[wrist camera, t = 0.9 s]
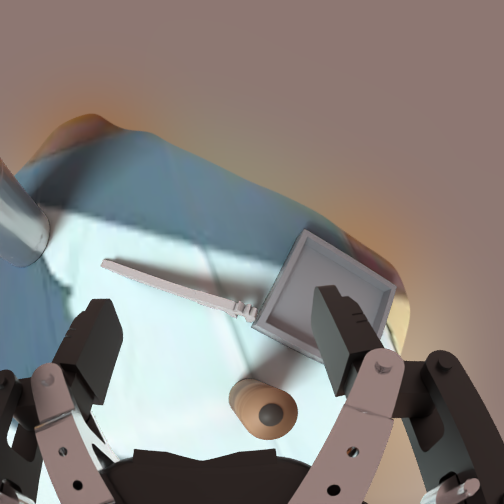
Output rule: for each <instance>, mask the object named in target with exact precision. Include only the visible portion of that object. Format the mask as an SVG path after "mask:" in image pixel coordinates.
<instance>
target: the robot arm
mask: <svg viewBox="0 0 504 504" xmlns="http://www.w3.org/2000/svg"><path fill="white" fill-rule="evenodd" d="M49 232H50V227H49V221H48V219H47V217H46V215H45V214H44V213H43V211H42V210H41V209H40V208H39V207H38V206H37V204H36V203H35V202H34V201H33V199H32V198H31V197H30V196H29V195H28V193H27V192H26V191H25V190H24V188H23V187H22V186H21V185H20V183H19V182H18V181H17V179H16V178H15V177H14V175H13V174H12V173H11V171H10V170H9V169H8V168H7V166H6V165H5V163H4V162H3V161H2V159H1V158H0V257H1V258H2V259H4V260H5V261H7V262H9V263H10V264H12V265H13V266H16V267H26V266H29V265H30V264H32V263H34V262H35V261H36V260H37V259H38V258H39V257H40V255H41V254H42V253H43V251H44V249H45V247H46V245H47V242H48V238H49ZM311 327H312V332H313V335H314V338H315V340H316V343H317V346H318V349H319V351H320V354H321V357H322V360H323V363H324V365H325V368H326V371H327V374H328V377H329V379H330V382H331V385H332V388H333V391H334V394H335V397H338V396H342V395H345V396H346V399H347V400H346V402H345V404H344V406H343V408H342V410H341V412H340V414H339V416H338V418H337V420H336V422H335V424H334V426H333V428H332V430H331V432H330V434H329V436H328V438H327V440H326V441H325V443H324V445H323V447H322V449H321V451H320V452H319V454H318V456H317V458H316V460H315V461H314V463H313V465H312V466H310V465H308V464H306V463H303V462H301V461H298V460H295V459H291V458H286V457H279V456H276V450H275V449H267V450H256V451H244V452H237V453H233V454H229V455H226V456H222V457H218V458H214V459H210V460H205V461H199V460H195V459H191V458H187V457H183V456H179V455H176V454H172V453H169V452H161V451H149V450H139V449H134V454H133V457H131V458H127V459H123V460H119V458H118V457H117V456H116V454H115V453H114V452H113V450H112V449H111V447H110V446H109V444H108V442H107V440H106V438H105V436H104V434H103V432H102V430H101V428H100V426H99V424H98V422H97V420H96V418H95V416H94V414H93V412H92V411H91V407H92V404H96V405H103V404H104V400H105V397H106V393H107V390H108V386H109V383H110V379H111V376H112V373H113V370H114V366H115V363H116V360H117V357H118V354H119V351H120V348H121V345H122V341H123V331H122V327H121V324H120V322H119V319H118V317H117V314H116V311H115V308H114V306H113V303H112V301H111V300H110V299H92V300H91V301H90V303H89V305H88V307H87V308H86V310H85V311H82V312H81V313H80V314H79V315H78V316H77V317H76V318H75V319H74V320H73V322H72V324H71V326H70V328H69V330H68V331H67V333H66V335H65V336H66V337H64V339H63V341H62V343H61V345H60V347H59V349H58V351H57V353H56V355H55V357H54V359H53V361H52V363H46V364H43V365H41V366H40V367H38V368H37V369H36V370H35V371H34V373H33V375H32V377H30V378H24V379H17V377H16V376H15V375H14V373H13V372H12V371H10V370H2V371H0V504H36V498H37V491H38V484H39V478H40V473H41V467H42V462H43V460H44V463H45V466H46V469H47V471H48V474H49V477H50V479H51V482H52V484H53V487H54V489H55V491H56V494H57V496H58V498H59V500H60V502H61V504H367V503H366V502H364V501H363V500H364V498H365V495H366V493H367V491H368V489H369V487H370V485H371V482H372V480H373V478H374V475H375V473H376V471H377V468H378V466H379V463H380V461H381V458H382V455H383V453H384V450H385V447H386V444H387V442H388V438H389V436H390V433H391V430H392V427H393V421H394V420H393V419H391V418H401V419H402V421H403V424H404V426H405V429H406V432H407V434H408V437H409V440H410V443H411V446H412V449H413V451H414V454H415V457H416V460H417V463H418V466H419V469H420V472H421V475H422V478H423V481H424V485H425V488H426V491H427V493H426V494H425V495H424V497H423V498H422V500H421V502H420V504H504V443H503V441H502V439H501V436H500V434H499V432H498V430H497V428H496V426H495V424H494V422H493V420H492V418H491V417H490V414H489V412H488V410H487V409H486V406H485V405H484V403H483V401H482V399H481V397H480V395H479V394H478V392H477V390H476V389H475V387H474V385H473V383H472V382H471V380H470V378H469V376H468V375H467V374H466V372H465V370H464V368H463V367H462V365H461V364H460V362H459V360H458V359H457V358H456V357H455V356H454V355H453V354H451V353H450V352H447V351H443V350H437V351H434V352H432V353H430V354H429V356H428V357H427V359H426V361H403V360H402V358H401V357H400V356H399V355H398V354H397V353H396V352H394V351H392V350H389V349H385V348H384V347H383V345H382V343H381V341H380V340H379V338H378V336H377V334H376V333H375V331H374V329H373V328H372V326H371V324H370V323H369V322H368V319H367V317H366V316H365V314H363V311H362V309H361V308H360V306H359V304H358V303H357V302H356V301H354V300H353V299H352V298H350V297H349V296H344V297H342V296H341V294H340V292H339V291H338V289H337V287H336V286H335V285H326V286H316V287H315V289H314V296H313V305H312V313H311ZM12 418H14V419H15V420H16V421H17V422H18V423H19V424H18V427H17V430H16V434H15V437H14V441H13V444H12V448H10V446H9V445H8V442H7V433H8V430H9V427H10V424H11V421H12Z"/></svg>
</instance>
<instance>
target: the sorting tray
mask: <svg viewBox="0 0 504 504" xmlns="http://www.w3.org/2000/svg"><path fill="white" fill-rule="evenodd" d="M326 285H335V286H336V287H337V289H338V291H339V292H340V294H341V296H342V297H344V296H349V297H350V298H352V299H353V300H354V301H356V302H357V303H358V304H359V306H360V308H361V309H362V311H363V314H365V316H366V317H367V319H368V322H369V323H370V324H371V326H372V328H373V329H374V331H375V333H376V334H377V336H378V338H379V340H380V339H381V336H382V333H383V330H384V327H385V324H386V321H387V318H388V315H389V312H390V308H391V305H392V302H393V298H394V295H395V291H396V288H397V286H395V285H394V284H392V283H391V282H389V281H388V280H386V279H385V278H383V277H382V276H380V275H379V274H377V273H375V272H374V271H372V270H371V269H369V268H368V267H366V266H364V265H363V264H361V263H360V262H358V261H357V260H355V259H353V258H352V257H350V256H349V255H347V254H345V253H344V252H342V251H340V250H339V249H337V248H336V247H334V246H332V245H331V244H329V243H327V242H326V241H324V240H322V239H321V238H319V237H317V236H316V235H314V234H312V233H311V232H309V231H307V230H306V229H304V230H303V231H302V232H301V234H300V235H299V236H298V237H297V239H296V241H295V243H294V245H293V247H292V249H291V251H290V253H289V255H288V257H287V259H286V261H285V263H284V265H283V267H282V268H281V270H280V272H279V274H278V276H277V278H276V280H275V282H274V284H273V286H272V288H271V290H270V292H269V294H268V296H267V298H266V300H265V302H264V303H263V305H262V307H261V309H260V311H259V313H258V315H257V317H256V320H255V321H254V322H253V324H252V326H251V328H253V329H255V330H257V331H259V332H261V333H263V334H264V335H266V336H268V337H270V338H272V339H274V340H276V341H278V342H280V343H282V344H284V345H286V346H287V347H289V348H291V349H293V350H295V351H297V352H299V353H301V354H303V355H305V356H307V357H309V358H311V359H313V360H316V361H318V362H320V363H322V364H324V363H323V360H322V357H321V354H320V351H319V349H318V346H317V343H316V340H315V338H314V335H313V332H312V327H311V313H312V305H313V296H314V289H315V287H316V286H326Z"/></svg>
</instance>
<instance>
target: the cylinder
mask: <svg viewBox="0 0 504 504" xmlns="http://www.w3.org/2000/svg"><path fill="white" fill-rule="evenodd" d="M229 404H230V406H231V408H232V410H233V411H234V412H235V414H236V415H237V417H238V418H239V419H240V421H241V422H242V424H243V425H244V426H245V428H246V429H247V430H248V431H249V433H251V434H252V435H253V436H255V437H257V438H259V439H264V440H273V439H277V438H280V437H282V436H284V435H285V434H287V433H288V432H289V431H290V430H291V429H292V428H293V426H294V425H295V423H296V420H297V416H298V409H297V405H296V402H295V400H294V399H293V398H292V396H291V395H290V394H288V393H287V392H285V391H283V390H280V389H278V388H275V387H273V386H270V385H268V384H265V383H263V382H260V381H258V380H255V379H244V380H241V381H239V382H238V383H236V384H235V385H234V386H233V387H232V389H231V391H230V393H229Z"/></svg>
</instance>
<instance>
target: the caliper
mask: <svg viewBox="0 0 504 504" xmlns="http://www.w3.org/2000/svg"><path fill="white" fill-rule="evenodd" d="M101 267H103V268H106V269H108V270H110V271H112V272H115V273H117V274H119V275H122V276H125V277H127V278H130V279H133V280H135V281H138V282H141V283H143V284H146V285H149V286H152V287H155V288H157V289H160V290H163V291H166V292H169V293H172V294H175V295H178V296H180V297H183V298H186V299H189V300H192V301H195V302H197V303H198V304H201V305H205V306H208V307H210V308H214V309H219V310H222V311H225V312H226V313H227V314H229V315H230V316H232V317H234V318H237V316H238V315H240V316H244V317H245V319H246V322H250V323H251V322H253V321H255V320H256V316H257V313H258V311H257V308H254V307H252V306H251V304H247V305H245V304H244V303H242V302H241V301H239V302H238V303H236V302H235V301H231V300H228V299H225V298H221V297H218V296H215V295H212V294H208V293H205V292H202V291H199V290H197V291H196V290H193V289H190V288H187V287H184V286H181V285H178V284H175V283H172V282H169V281H166V280H163V279H160V278H157V277H154V276H151V275H148V274H146V273H143V272H140V271H137V270H134V269H132V268H129V267H126V266H123V265H120V264H118V263H115V262H112V261H110V260H109V261H107V260H105V259H103V262H102V264H101Z"/></svg>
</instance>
